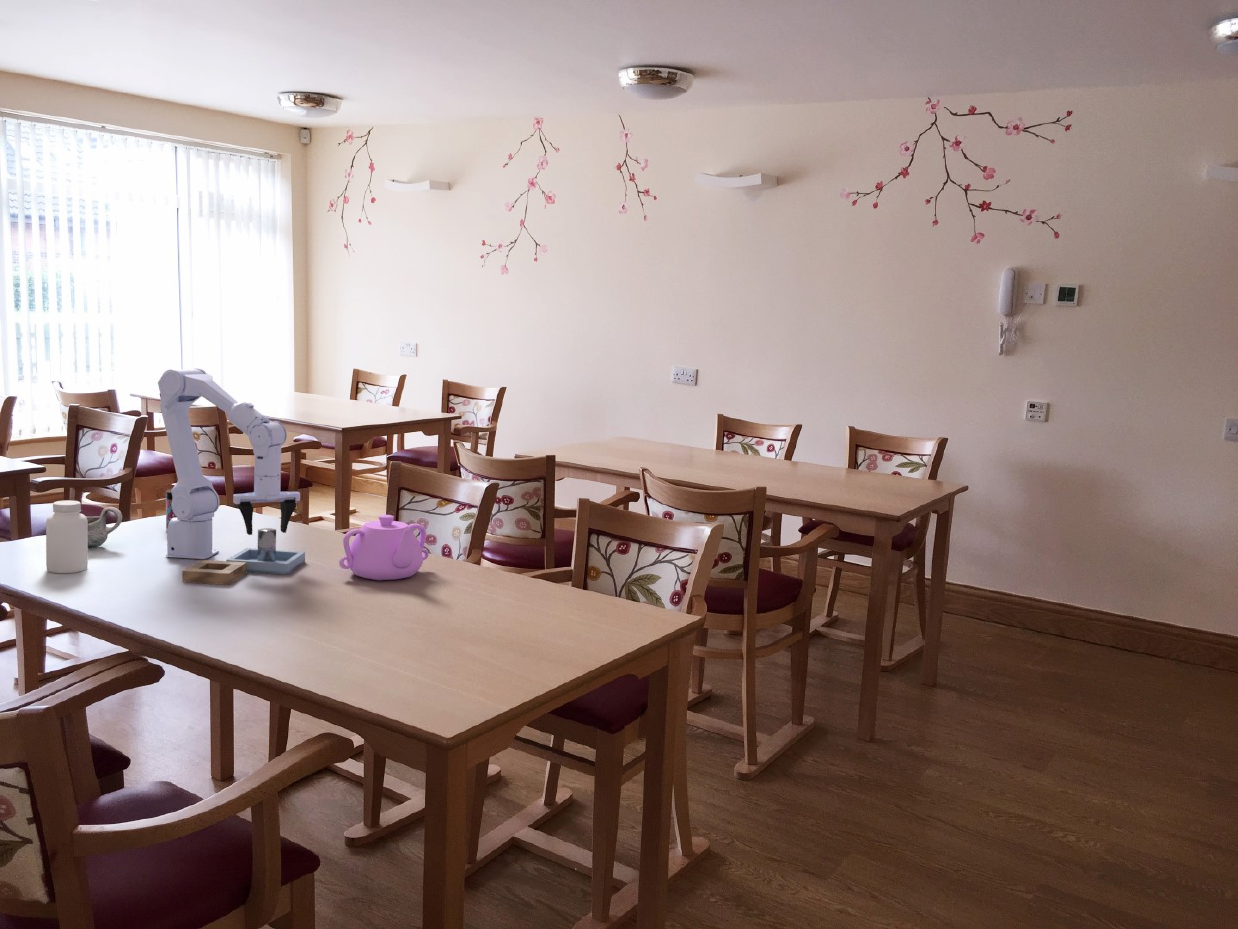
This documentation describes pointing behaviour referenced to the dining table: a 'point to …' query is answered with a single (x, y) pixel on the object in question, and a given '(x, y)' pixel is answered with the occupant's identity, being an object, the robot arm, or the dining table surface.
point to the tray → (283, 564)
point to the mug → (101, 527)
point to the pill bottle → (66, 538)
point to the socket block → (214, 572)
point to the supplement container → (169, 507)
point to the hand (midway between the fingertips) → (266, 533)
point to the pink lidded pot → (384, 549)
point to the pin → (266, 545)
